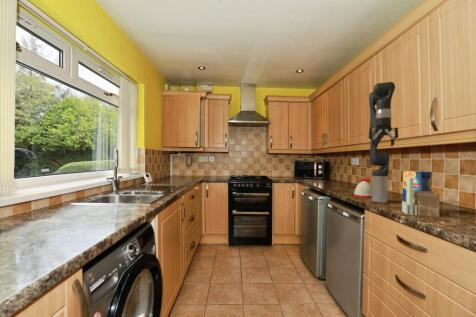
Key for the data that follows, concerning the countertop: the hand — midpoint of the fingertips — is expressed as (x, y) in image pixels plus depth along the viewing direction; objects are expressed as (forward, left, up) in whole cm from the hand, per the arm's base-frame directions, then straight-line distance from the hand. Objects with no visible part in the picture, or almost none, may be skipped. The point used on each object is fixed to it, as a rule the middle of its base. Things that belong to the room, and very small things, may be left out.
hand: (382, 146), depth 135 cm
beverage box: (-2, +17, -36) cm, 40 cm away
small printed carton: (+10, +11, -36) cm, 39 cm away
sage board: (+12, +11, -35) cm, 38 cm away
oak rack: (+10, +18, -36) cm, 41 cm away
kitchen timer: (-47, -6, -36) cm, 60 cm away
